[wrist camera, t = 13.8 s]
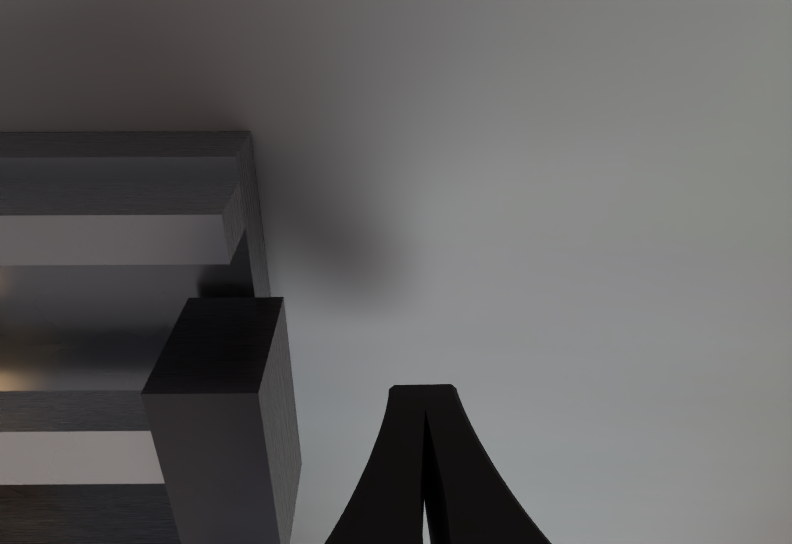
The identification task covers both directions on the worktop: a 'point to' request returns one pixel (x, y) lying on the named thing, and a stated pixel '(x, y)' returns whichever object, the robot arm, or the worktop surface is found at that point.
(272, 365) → the press ram
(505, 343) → the worktop surface
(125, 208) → the press frame
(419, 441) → the robot arm
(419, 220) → the worktop surface
